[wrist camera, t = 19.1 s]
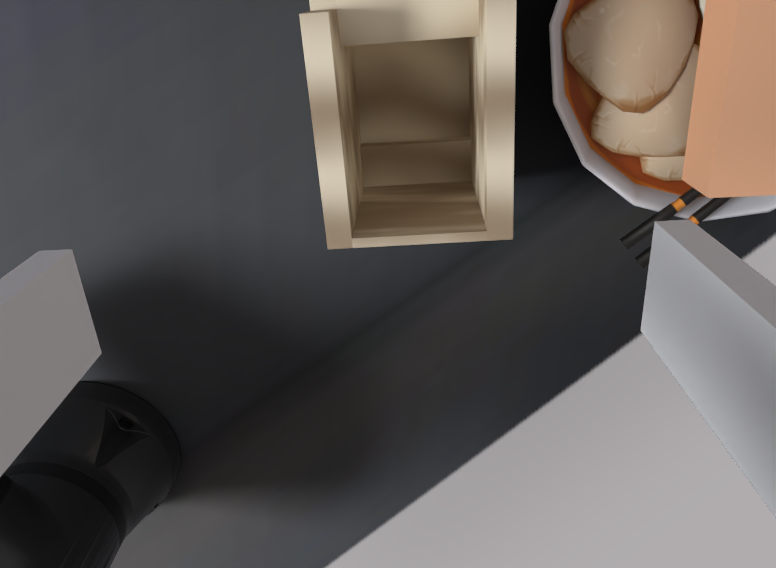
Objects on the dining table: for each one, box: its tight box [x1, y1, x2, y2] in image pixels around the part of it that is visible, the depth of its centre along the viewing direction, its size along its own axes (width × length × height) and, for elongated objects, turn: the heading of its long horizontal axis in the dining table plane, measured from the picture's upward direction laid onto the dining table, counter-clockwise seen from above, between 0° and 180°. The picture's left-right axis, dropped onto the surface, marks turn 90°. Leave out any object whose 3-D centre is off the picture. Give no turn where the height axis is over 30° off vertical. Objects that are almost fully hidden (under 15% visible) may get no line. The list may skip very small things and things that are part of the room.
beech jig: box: [299, 0, 517, 249], centre depth 38 cm, size 24×11×12 cm, turn 4°
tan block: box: [682, 0, 776, 198], centre depth 33 cm, size 20×4×4 cm, turn 3°
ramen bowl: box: [549, 0, 776, 268], centre depth 39 cm, size 25×23×8 cm
